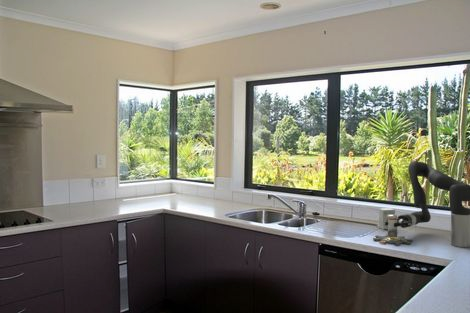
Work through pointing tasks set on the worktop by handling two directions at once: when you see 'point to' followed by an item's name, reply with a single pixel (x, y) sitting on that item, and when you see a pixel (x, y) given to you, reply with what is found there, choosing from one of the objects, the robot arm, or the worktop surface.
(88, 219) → the worktop surface
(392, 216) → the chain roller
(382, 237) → the sprocket plate
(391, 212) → the small box
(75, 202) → the worktop surface
